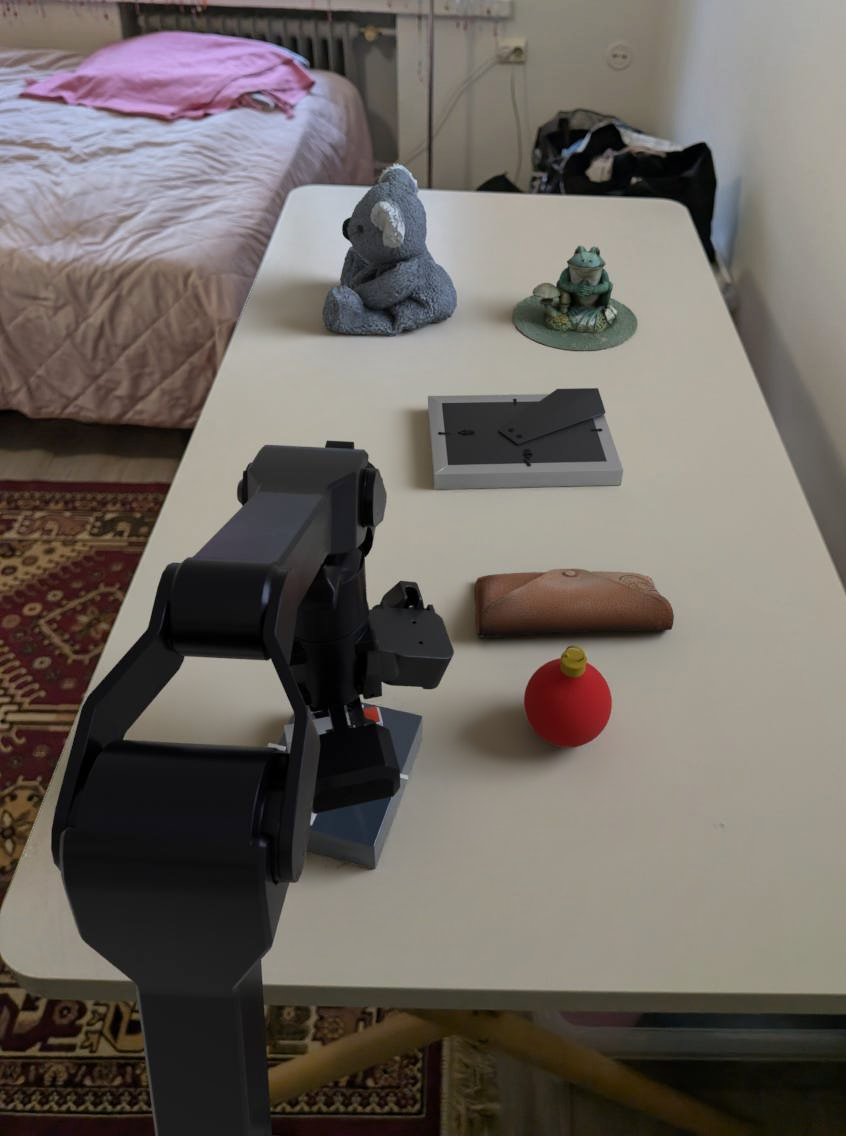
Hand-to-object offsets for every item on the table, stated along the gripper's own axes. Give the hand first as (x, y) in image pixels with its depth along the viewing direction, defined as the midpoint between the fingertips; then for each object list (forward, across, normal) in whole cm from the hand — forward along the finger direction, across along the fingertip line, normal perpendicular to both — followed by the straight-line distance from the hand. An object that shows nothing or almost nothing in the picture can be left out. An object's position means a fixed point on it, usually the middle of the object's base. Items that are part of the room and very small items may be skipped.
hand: (336, 757), depth 72 cm
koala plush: (+4, +76, -21) cm, 79 cm away
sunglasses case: (+4, +14, -24) cm, 28 cm away
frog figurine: (+4, +68, -45) cm, 82 cm away
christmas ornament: (+4, +1, -19) cm, 19 cm away
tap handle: (0, 0, 0) cm, 0 cm away
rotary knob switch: (+4, 0, 0) cm, 4 cm away
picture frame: (+4, +40, -28) cm, 49 cm away
